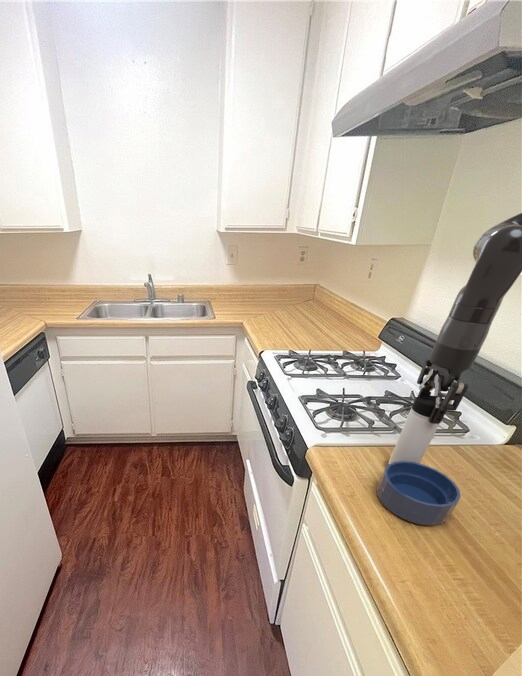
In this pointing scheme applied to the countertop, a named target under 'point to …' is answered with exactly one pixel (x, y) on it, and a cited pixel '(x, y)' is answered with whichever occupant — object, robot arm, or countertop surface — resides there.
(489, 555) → the countertop surface
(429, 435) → the travel mug
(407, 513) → the bowl
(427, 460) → the countertop surface
